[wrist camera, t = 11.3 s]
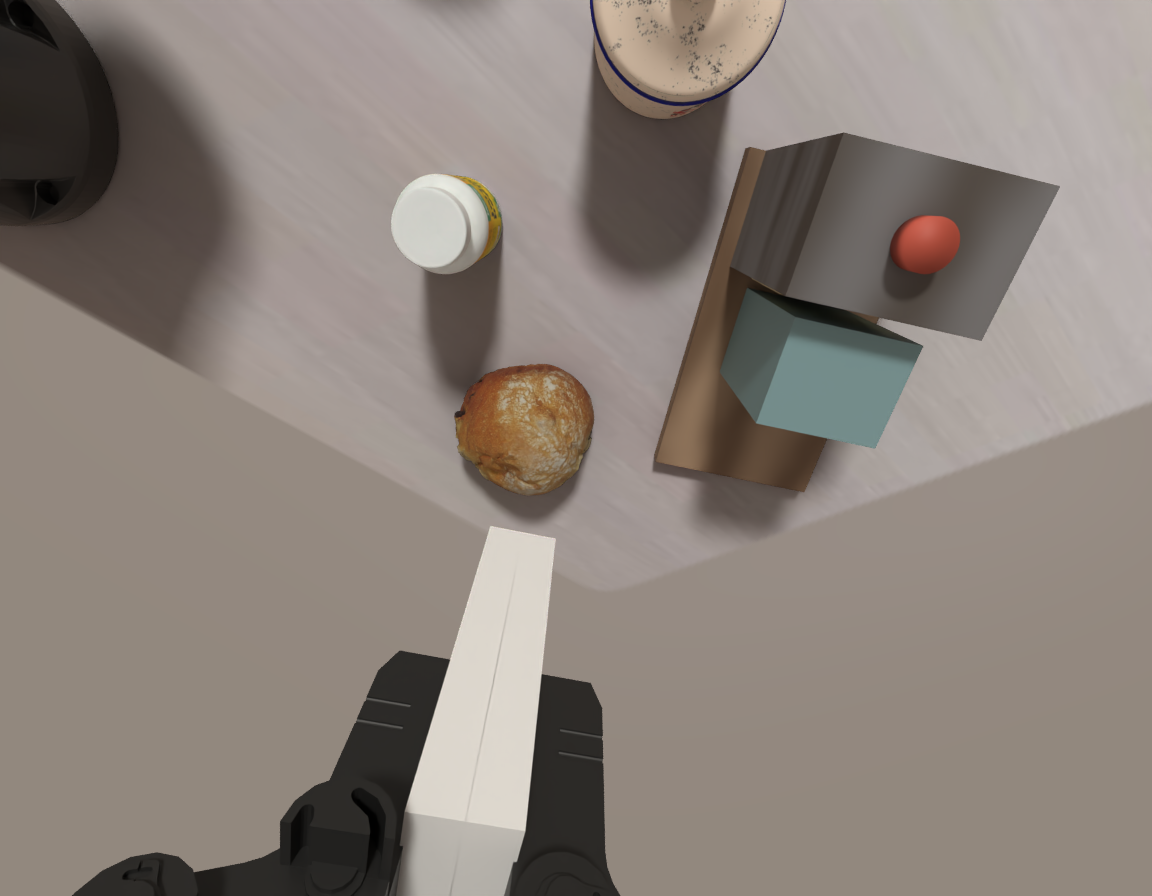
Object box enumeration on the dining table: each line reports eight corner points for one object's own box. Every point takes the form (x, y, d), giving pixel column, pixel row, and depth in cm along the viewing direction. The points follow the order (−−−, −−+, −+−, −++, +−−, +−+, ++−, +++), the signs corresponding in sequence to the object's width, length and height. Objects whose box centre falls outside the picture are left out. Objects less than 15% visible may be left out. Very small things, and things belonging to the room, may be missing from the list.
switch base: (654, 455, 45) (679, 562, 32) (745, 148, 37) (832, 124, 23) (799, 485, 46) (882, 601, 33) (922, 191, 37) (1103, 191, 24)
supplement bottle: (409, 226, 39) (356, 236, 30) (453, 157, 37) (410, 146, 28) (474, 278, 40) (442, 302, 31) (520, 213, 38) (499, 219, 30)
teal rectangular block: (719, 371, 41) (756, 423, 32) (747, 287, 39) (795, 317, 30) (812, 392, 42) (875, 448, 32) (845, 310, 39) (923, 345, 30)
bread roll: (562, 463, 50) (603, 510, 44) (444, 472, 46) (470, 526, 39) (578, 353, 46) (625, 387, 40) (450, 351, 42) (479, 388, 35)
